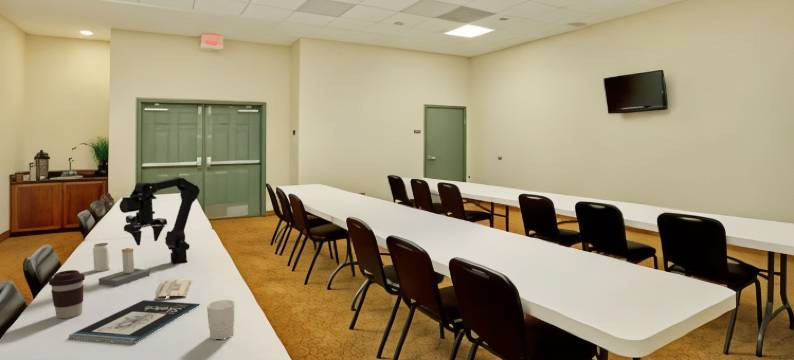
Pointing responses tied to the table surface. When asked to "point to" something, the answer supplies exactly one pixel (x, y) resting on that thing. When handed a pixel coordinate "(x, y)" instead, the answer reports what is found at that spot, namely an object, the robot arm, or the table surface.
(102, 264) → the can
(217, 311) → the white cup
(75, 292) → the coffee cup
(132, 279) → the console
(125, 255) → the fader knob
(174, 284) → the open book
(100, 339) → the sketchbook
